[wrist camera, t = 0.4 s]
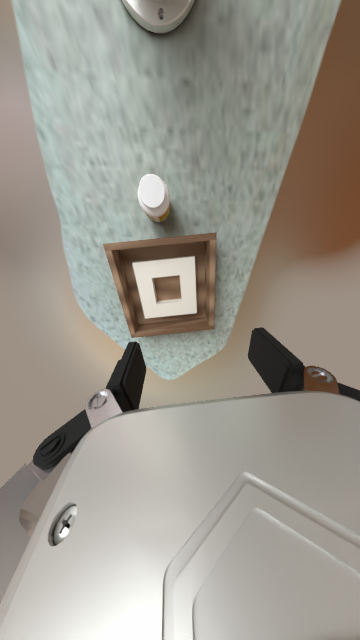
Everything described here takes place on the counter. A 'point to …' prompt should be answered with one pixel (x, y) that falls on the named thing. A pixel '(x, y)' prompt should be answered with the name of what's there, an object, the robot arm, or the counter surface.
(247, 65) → the counter surface
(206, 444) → the robot arm
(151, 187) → the supplement bottle
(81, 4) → the counter surface
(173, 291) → the open box
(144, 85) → the counter surface
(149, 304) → the socket plate
